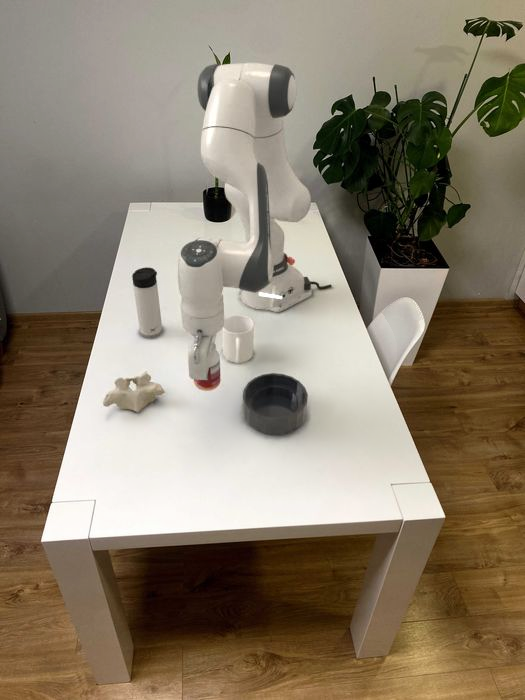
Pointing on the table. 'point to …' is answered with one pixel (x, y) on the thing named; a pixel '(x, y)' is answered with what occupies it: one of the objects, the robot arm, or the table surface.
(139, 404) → the bone
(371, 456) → the table surface
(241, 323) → the cup
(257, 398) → the bowl
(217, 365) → the pill bottle
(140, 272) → the travel mug
